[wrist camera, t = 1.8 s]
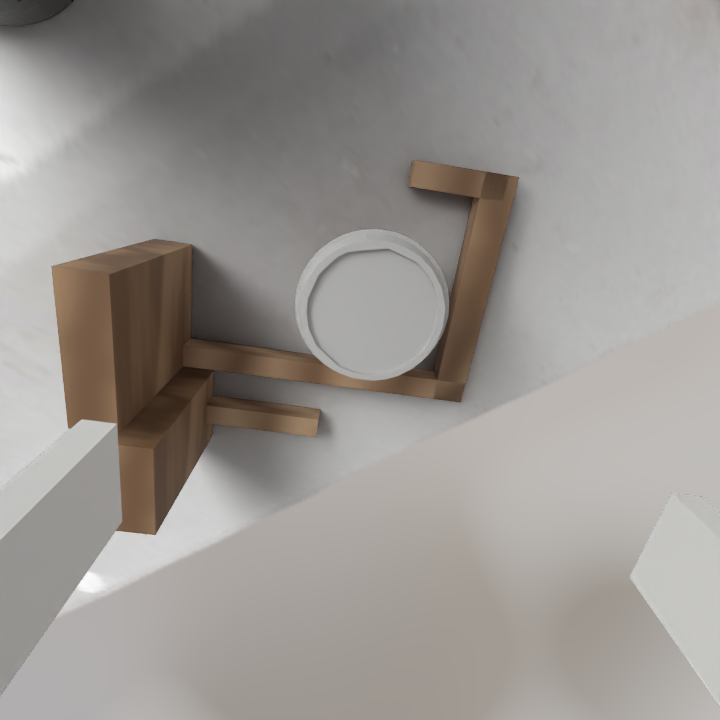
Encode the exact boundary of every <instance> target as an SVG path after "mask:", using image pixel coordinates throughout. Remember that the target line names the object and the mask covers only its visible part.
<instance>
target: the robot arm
mask: <svg viewBox="0 0 720 720" xmlns="http://www.w3.org/2000/svg"><path fill="white" fill-rule="evenodd" d="M71 1H72V0H0V25H6V26H20V25H28V24H33V23H37V22H40V21H43V20H45V19H47V18H49V17H52V16H53V15H55V14H57V13H58V12H60V11H61V10H62V9H64V8H65V7H66V6H67V5H68V4H69V3H70V2H71ZM121 522H122V506H121V487H120V469H119V451H118V433H117V424H116V423H108V422H99V421H91V420H83V419H82V420H80V421H79V422H78V423H77V424H76V425H74V426H73V427H72V428H71V429H70V430H69V431H67V432H66V433H65V434H64V435H63V436H62V437H60V438H59V439H58V440H57V441H56V442H55V443H53V444H52V445H51V446H50V447H49V448H48V449H46V450H45V451H44V452H43V453H42V454H40V455H39V456H38V457H37V458H36V459H35V460H33V461H32V462H31V463H30V464H29V465H28V466H26V467H25V468H24V469H23V470H22V471H21V472H19V473H18V474H17V475H16V476H15V477H14V478H12V479H11V480H10V481H9V482H8V483H6V484H5V485H4V486H3V487H2V488H1V489H0V696H1V695H2V693H3V692H4V690H5V689H6V688H7V686H8V685H9V683H10V682H11V680H12V679H13V678H14V676H15V675H16V673H17V672H18V670H19V669H20V667H21V666H22V664H23V663H24V662H25V660H26V659H27V657H28V656H29V655H30V653H31V652H32V650H33V649H34V647H35V646H36V644H37V643H38V642H39V640H40V639H41V637H42V636H43V634H44V633H45V632H46V630H47V629H48V627H49V626H50V624H51V623H52V621H53V620H54V619H55V617H56V616H57V614H58V613H59V611H60V610H61V609H62V607H63V606H64V604H65V603H66V601H67V600H68V598H69V597H70V596H71V594H72V593H73V591H74V590H75V588H76V587H77V586H78V584H79V583H80V581H81V580H82V578H83V577H84V575H85V574H86V573H87V571H88V570H89V568H90V567H91V565H92V564H93V563H94V561H95V560H96V558H97V557H98V555H99V554H100V552H101V551H102V550H103V548H104V547H105V545H106V544H107V542H108V541H109V540H110V538H111V537H112V535H113V534H114V532H115V531H116V529H117V528H118V527H119V525H120V524H121ZM630 579H631V580H632V581H633V583H634V584H635V586H636V587H637V589H638V590H639V591H640V593H641V594H642V596H643V597H644V599H645V600H646V602H647V603H648V604H649V606H650V607H651V609H652V610H653V612H654V613H655V614H656V616H657V617H658V619H659V620H660V622H661V623H662V624H663V626H664V627H665V629H666V630H667V632H668V633H669V634H670V636H671V637H672V639H673V640H674V641H675V643H676V644H677V646H678V647H679V649H680V650H681V651H682V653H683V654H684V656H685V657H686V659H687V660H688V662H689V663H690V665H691V666H692V667H693V668H694V670H695V672H696V673H697V674H698V676H699V677H700V679H701V680H702V682H703V683H704V685H705V686H706V687H707V689H708V690H709V692H710V693H711V695H712V696H713V697H714V699H715V700H716V702H717V703H718V705H719V706H720V513H719V512H718V511H717V510H716V509H715V508H714V507H713V506H712V505H710V504H709V503H708V502H707V501H706V500H705V499H704V498H703V497H701V496H694V495H686V494H678V493H671V495H670V497H669V499H668V501H667V503H666V505H665V507H664V509H663V511H662V513H661V515H660V517H659V519H658V521H657V523H656V525H655V527H654V529H653V532H652V533H651V535H650V537H649V539H648V541H647V543H646V546H645V547H644V550H643V552H642V553H641V556H640V558H639V559H638V562H637V563H636V566H635V568H634V570H633V572H632V574H631V576H630Z"/></svg>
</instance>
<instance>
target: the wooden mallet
mask: <svg viewBox="0 0 720 720" xmlns="http://www.w3.org/2000/svg"><path fill="white" fill-rule="evenodd" d="M213 389H214V370H208V369H201V368H193V367H186V366H183V367H182V368H181V369H180V370H179V371H178V372H177V373H176V374H175V375H174V376H173V377H172V379H171V380H170V381H169V382H168V383H167V384H166V385H165V386H164V387H163V388H162V389H161V390H160V391H159V392H158V393H157V394H156V395H155V396H154V397H153V398H152V399H151V400H150V402H149V403H148V404H147V405H146V406H145V407H144V408H143V409H142V410H141V411H140V412H139V413H138V414H137V415H136V416H135V417H134V418H133V419H132V420H131V421H130V422H129V423H128V425H127V426H126V427H125V428H124V429H123V430H122V431H121V432H120V433H119V434H118V451H119V469H120V487H121V506H122V522H121V524H120V525H119V527H118V528H117V529H116V531H124V532H133V533H142V534H152V535H156V533H157V531H158V530H159V528H160V526H161V524H162V523H163V521H164V519H165V517H166V516H167V514H168V512H169V510H170V509H171V507H172V505H173V503H174V502H175V500H176V498H177V496H178V495H179V493H180V491H181V489H182V488H183V486H184V484H185V482H186V481H187V479H188V477H189V476H190V474H191V472H192V470H193V469H194V467H195V465H196V463H197V462H198V460H199V458H200V456H201V455H202V453H203V451H204V449H205V448H206V446H207V444H208V442H209V441H210V439H211V437H212V424H216V425H224V426H232V427H240V428H248V429H256V430H264V431H272V432H281V433H289V434H297V435H305V436H313V437H316V435H317V429H318V422H319V414H320V409H313V408H305V407H297V406H289V405H282V404H274V403H266V402H258V401H250V400H243V399H235V398H227V397H219V396H213Z"/></svg>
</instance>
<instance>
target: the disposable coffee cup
mask: <svg viewBox="0 0 720 720" xmlns="http://www.w3.org/2000/svg"><path fill="white" fill-rule="evenodd" d="M295 314H296V321H297V325H298V328H299V331H300V334H301V336H302V338H303V340H304V341H305V343H306V345H307V347H308V348H309V349H310V350H311V352H312V353H313V354H314V355H315V356H316V357H317V358H318V359H319V360H320V361H321V362H322V363H323V364H325V365H326V366H328V367H329V368H331V369H332V370H334V371H336V372H338V373H340V374H343V375H345V376H348V377H351V378H355V379H360V380H372V381H375V380H384V379H389V378H393V377H396V376H399V375H401V374H403V373H405V372H407V371H409V370H411V369H413V368H414V367H415V366H416V365H418V364H419V363H420V362H422V361H423V360H424V359H425V358H426V357H427V356H428V355H429V354H430V353H431V351H432V350H433V349H434V348H435V347H436V345H437V343H438V341H439V340H440V338H441V336H442V334H443V332H444V329H445V325H446V322H447V319H448V314H449V295H448V287H447V284H446V281H445V278H444V276H443V273H442V270H441V269H440V267H439V266H438V264H437V263H436V261H435V260H434V258H433V256H432V255H430V254H429V253H428V252H427V251H426V250H425V249H424V248H423V247H422V246H421V245H420V244H418V243H417V242H415V241H413V240H412V239H410V238H408V237H407V236H405V235H402V234H400V233H397V232H393V231H388V230H381V229H363V230H358V231H353V232H349V233H346V234H344V235H341V236H339V237H337V238H335V239H333V240H332V241H330V242H329V243H327V244H326V245H325V246H324V247H322V248H321V249H320V250H318V251H317V253H316V254H315V255H314V256H313V257H312V259H311V260H310V261H309V262H308V264H307V265H306V267H305V269H304V271H303V273H302V274H301V276H300V279H299V283H298V286H297V290H296V295H295Z"/></svg>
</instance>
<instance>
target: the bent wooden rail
mask: <svg viewBox="0 0 720 720" xmlns="http://www.w3.org/2000/svg"><path fill="white" fill-rule="evenodd" d="M518 180H519V177H514V176H508V175H502V174H496V173H490V172H484V171H478V170H472V169H466V168H460V167H454V166H448V165H442V164H436V163H430V162H424V161H418V160H414V161H412V165H411V171H410V176H409V182H408V187H413V188H420V189H426V190H432V191H438V192H444V193H451V194H457V195H463V196H469V197H473V201H472V205H471V210H470V214H469V218H468V223H467V227H466V232H465V236H464V240H463V245H462V249H461V254H460V258H459V262H458V267H457V271H456V276H455V280H454V284H453V289H452V293H451V297H450V302H449V314H448V319H447V322H446V325H445V329H444V332H443V334H442V337H441V341H440V346H439V350H438V355H437V359H436V363H435V368H434V371H428V370H421V369H411V370H409V371H407V372H405V373H403V374H401V375H399V376H396V377H393V378H389V379H384V380H375V381H372V380H360V379H355V378H351V377H348V376H345V375H343V374H340V373H338V372H336V371H334V370H332V369H331V368H329V367H328V366H326V365H325V364H323V363H322V362H321V361H320V360H319V359H318V358H317V357H316V356H315V355H310V354H303V353H295V352H288V351H280V350H273V349H266V348H258V347H251V346H244V345H236V344H229V343H221V342H214V341H207V340H199V339H192V338H191V293H192V245H191V244H184V243H177V242H171V241H164V240H157V239H153V240H149V241H145V242H141V243H138V244H134V245H130V246H126V247H123V248H119V249H115V250H111V251H107V252H104V253H100V254H96V255H92V256H89V257H85V258H81V259H77V260H73V261H70V262H66V263H62V264H58V265H55V266H51V267H52V276H53V286H54V296H55V305H56V315H57V325H58V334H59V344H60V353H61V363H62V373H63V382H64V392H65V402H66V411H67V421H68V428H70V429H71V428H72V427H73V426H74V425H76V424H77V423H78V422H79V421H80V420H82V419H83V420H91V421H99V422H108V423H116V424H117V433H118V434H119V433H120V432H121V431H122V430H123V429H124V428H125V427H126V426H127V425H128V423H129V422H130V421H131V420H132V419H133V418H134V417H135V416H136V415H137V414H138V413H139V412H140V411H141V410H142V409H143V408H144V407H145V406H146V405H147V404H148V403H149V402H150V400H151V399H152V398H153V397H154V396H155V395H156V394H157V393H158V392H159V391H160V390H161V389H162V388H163V387H164V386H165V385H166V384H167V383H168V382H169V381H170V380H171V379H172V377H173V376H174V375H175V374H176V373H177V372H178V371H179V370H180V369H181V368H182V367H183V366H188V367H196V368H203V369H211V370H218V371H226V372H234V373H241V374H249V375H256V376H264V377H272V378H279V379H287V380H294V381H302V382H310V383H317V384H325V385H332V386H340V387H348V388H355V389H363V390H370V391H378V392H386V393H393V394H401V395H408V396H416V397H424V398H431V399H439V400H446V401H454V402H461V400H462V396H463V392H464V388H465V384H466V381H467V377H468V373H469V369H470V365H471V361H472V357H473V354H474V350H475V346H476V342H477V338H478V334H479V330H480V327H481V323H482V319H483V315H484V311H485V307H486V303H487V300H488V296H489V292H490V288H491V284H492V280H493V276H494V273H495V269H496V265H497V261H498V257H499V253H500V249H501V246H502V242H503V238H504V234H505V230H506V226H507V222H508V219H509V215H510V211H511V207H512V203H513V199H514V195H515V191H516V188H517V184H518Z"/></svg>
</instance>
